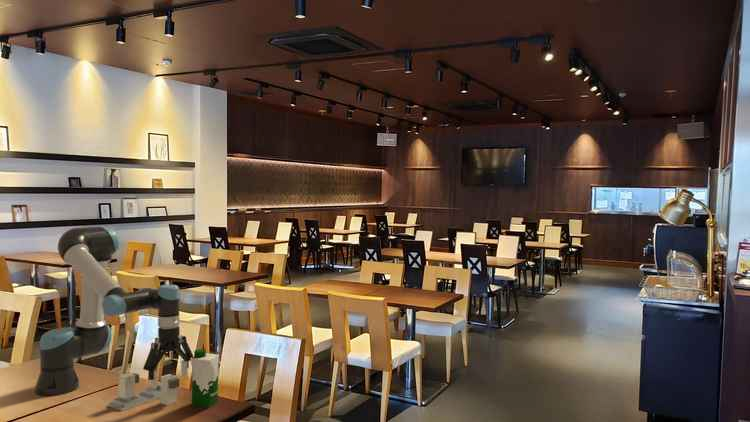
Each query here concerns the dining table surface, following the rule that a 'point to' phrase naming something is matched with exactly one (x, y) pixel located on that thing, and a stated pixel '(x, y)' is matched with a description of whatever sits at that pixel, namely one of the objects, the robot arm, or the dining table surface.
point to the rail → (138, 398)
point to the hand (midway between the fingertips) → (169, 382)
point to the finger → (169, 389)
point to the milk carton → (204, 378)
